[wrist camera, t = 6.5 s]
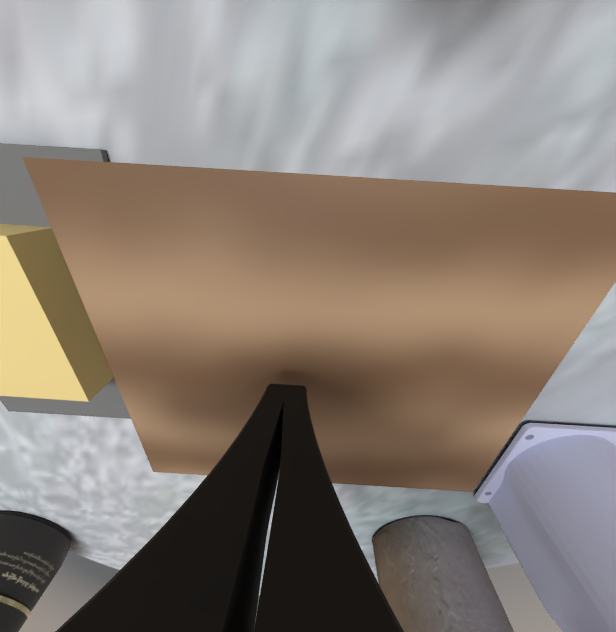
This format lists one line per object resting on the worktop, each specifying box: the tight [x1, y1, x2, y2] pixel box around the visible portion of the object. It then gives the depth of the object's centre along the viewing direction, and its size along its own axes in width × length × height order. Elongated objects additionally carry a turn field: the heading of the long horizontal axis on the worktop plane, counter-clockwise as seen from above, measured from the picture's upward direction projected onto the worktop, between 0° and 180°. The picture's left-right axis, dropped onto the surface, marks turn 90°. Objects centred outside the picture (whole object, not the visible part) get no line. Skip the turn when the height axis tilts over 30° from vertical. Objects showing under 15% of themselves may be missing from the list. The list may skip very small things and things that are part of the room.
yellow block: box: [0, 224, 114, 402], centre depth 13 cm, size 9×6×2 cm, turn 176°
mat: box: [0, 143, 131, 419], centre depth 14 cm, size 16×12×1 cm
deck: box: [22, 157, 616, 492], centre depth 12 cm, size 15×18×4 cm
